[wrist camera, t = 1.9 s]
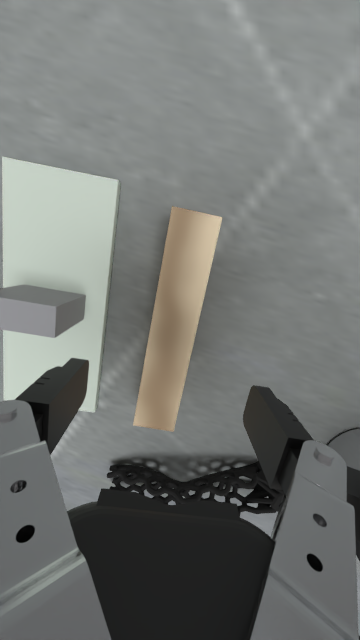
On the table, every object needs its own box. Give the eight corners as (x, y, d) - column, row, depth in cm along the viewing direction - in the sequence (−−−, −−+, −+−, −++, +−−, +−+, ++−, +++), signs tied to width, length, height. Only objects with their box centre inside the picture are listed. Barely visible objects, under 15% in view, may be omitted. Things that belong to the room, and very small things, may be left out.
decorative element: (113, 484, 31) (99, 536, 25) (111, 453, 30) (96, 499, 24) (282, 485, 32) (305, 535, 26) (287, 454, 30) (313, 500, 25)
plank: (212, 226, 23) (222, 217, 18) (173, 401, 28) (173, 431, 23) (172, 217, 23) (171, 206, 18) (140, 396, 28) (133, 425, 23)
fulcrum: (120, 183, 22) (96, 149, 15) (97, 407, 28) (72, 455, 21) (10, 161, 21) (-67, 116, 15) (9, 394, 27) (-46, 439, 20)
